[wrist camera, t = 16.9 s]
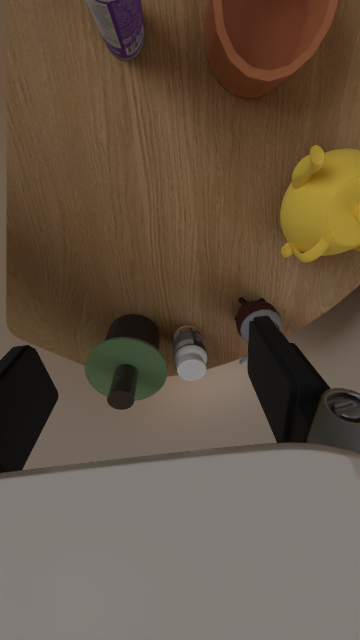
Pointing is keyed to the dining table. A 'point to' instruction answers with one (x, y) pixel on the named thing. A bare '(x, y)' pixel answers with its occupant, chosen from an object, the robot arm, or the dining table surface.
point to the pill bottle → (189, 353)
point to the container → (120, 25)
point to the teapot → (322, 205)
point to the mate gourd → (250, 312)
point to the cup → (134, 329)
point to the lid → (125, 370)
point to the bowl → (263, 40)
